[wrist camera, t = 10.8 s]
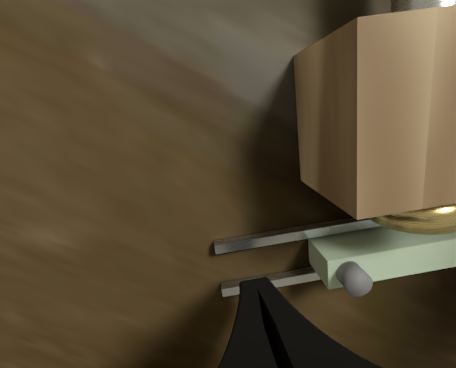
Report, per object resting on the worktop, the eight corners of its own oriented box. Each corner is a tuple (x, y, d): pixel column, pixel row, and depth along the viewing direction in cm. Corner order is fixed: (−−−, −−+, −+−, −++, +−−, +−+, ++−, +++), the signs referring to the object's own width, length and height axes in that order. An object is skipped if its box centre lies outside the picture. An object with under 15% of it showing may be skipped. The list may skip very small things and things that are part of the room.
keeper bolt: (426, 217, 15) (487, 247, 12) (424, 242, 15) (483, 277, 12) (307, 237, 15) (338, 273, 11) (309, 262, 15) (338, 304, 12)
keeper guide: (451, 200, 15) (497, 217, 13) (446, 250, 16) (488, 273, 13) (213, 240, 14) (216, 265, 12) (222, 290, 15) (225, 322, 13)
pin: (441, -114, 10) (577, -241, 6) (419, 194, 14) (498, 224, 10) (346, -104, 10) (431, -231, 6) (348, 205, 13) (403, 241, 10)
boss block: (456, 34, 12) (626, -18, 7) (444, 157, 14) (576, 183, 9) (293, 55, 12) (357, 16, 7) (300, 180, 14) (356, 219, 9)
